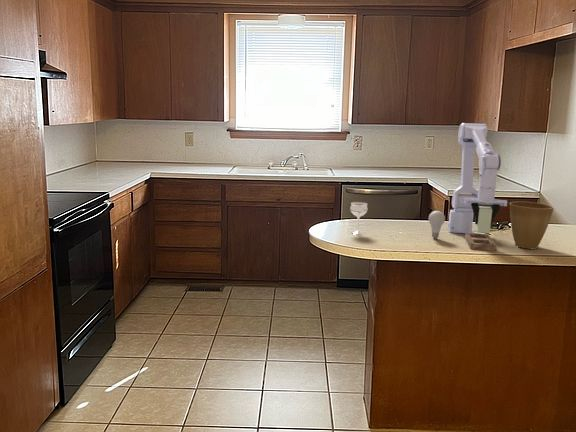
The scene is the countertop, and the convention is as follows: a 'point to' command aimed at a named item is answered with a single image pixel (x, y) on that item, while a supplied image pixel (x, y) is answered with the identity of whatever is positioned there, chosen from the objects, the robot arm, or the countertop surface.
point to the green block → (484, 220)
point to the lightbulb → (436, 222)
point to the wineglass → (358, 212)
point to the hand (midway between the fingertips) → (483, 224)
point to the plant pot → (529, 222)
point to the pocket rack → (480, 241)
